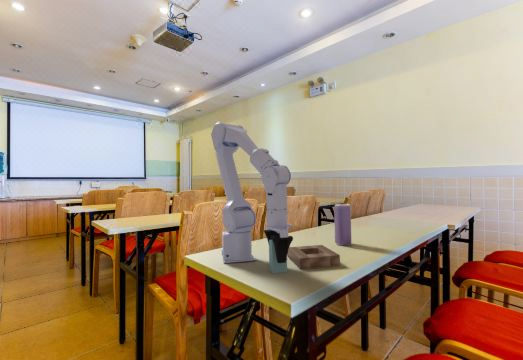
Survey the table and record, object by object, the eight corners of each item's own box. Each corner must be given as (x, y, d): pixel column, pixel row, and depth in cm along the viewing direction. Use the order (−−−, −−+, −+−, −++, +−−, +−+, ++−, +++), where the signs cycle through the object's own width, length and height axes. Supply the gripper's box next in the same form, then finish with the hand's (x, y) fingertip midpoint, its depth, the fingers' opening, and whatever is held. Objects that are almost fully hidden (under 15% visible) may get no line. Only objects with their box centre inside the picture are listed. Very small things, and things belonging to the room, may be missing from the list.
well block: (300, 269, 71) (299, 258, 71) (287, 256, 83) (287, 247, 83) (339, 265, 73) (339, 255, 73) (322, 253, 85) (322, 244, 85)
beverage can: (348, 246, 93) (347, 205, 93) (332, 244, 97) (331, 204, 97) (353, 243, 98) (352, 204, 98) (338, 241, 102) (337, 203, 102)
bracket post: (272, 273, 68) (272, 243, 68) (269, 268, 72) (268, 239, 72) (287, 271, 69) (286, 242, 69) (283, 267, 73) (282, 239, 73)
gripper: (299, 211, 64) (300, 265, 64) (283, 206, 79) (284, 250, 79) (272, 212, 63) (273, 267, 63) (261, 206, 77) (262, 251, 77)
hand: (277, 258), depth 71 cm, fingers open, 7 cm apart
